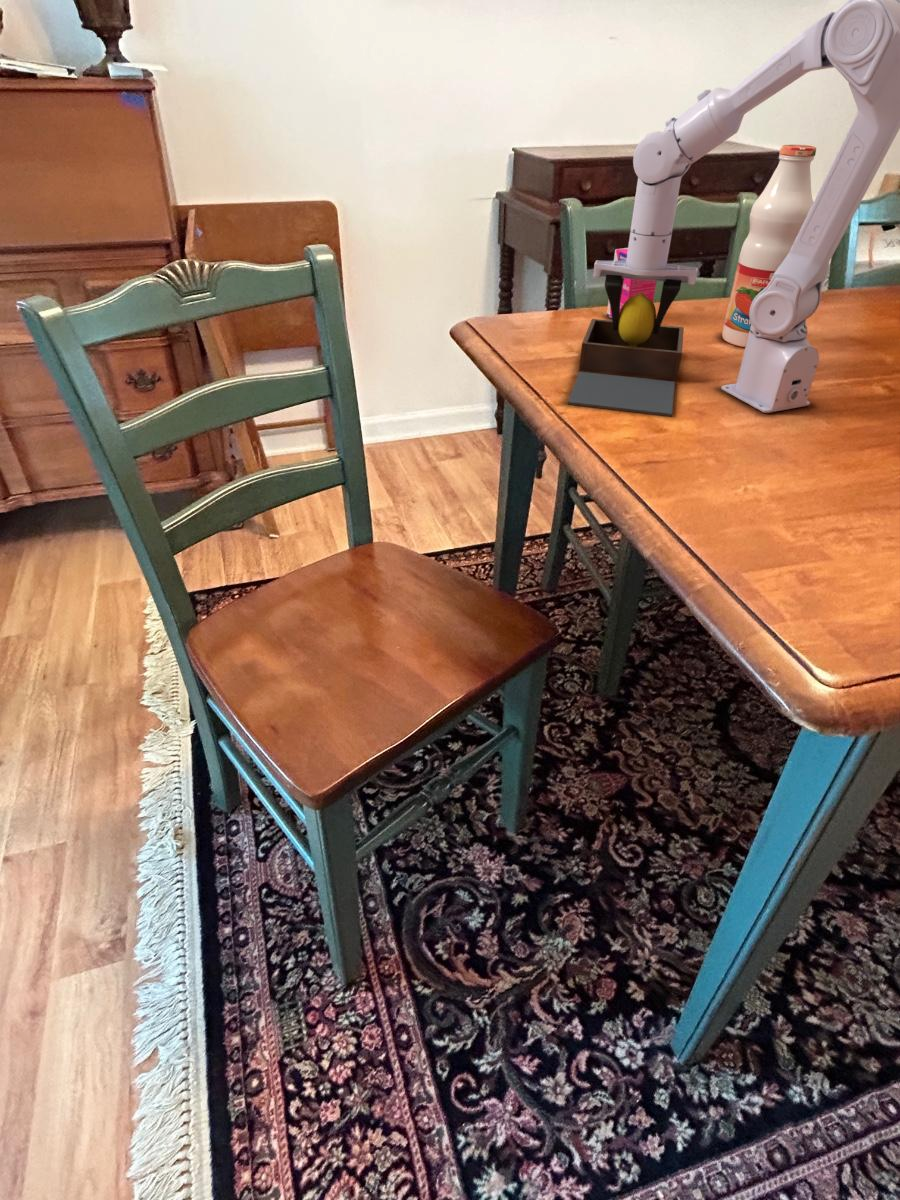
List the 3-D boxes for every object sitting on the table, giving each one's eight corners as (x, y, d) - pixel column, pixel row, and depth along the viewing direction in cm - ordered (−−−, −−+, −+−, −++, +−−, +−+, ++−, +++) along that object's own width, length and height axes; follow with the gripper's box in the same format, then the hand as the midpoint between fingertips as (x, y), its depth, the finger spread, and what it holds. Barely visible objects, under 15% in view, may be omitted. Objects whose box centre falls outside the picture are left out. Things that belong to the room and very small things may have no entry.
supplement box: (604, 316, 134) (614, 248, 127) (631, 312, 136) (642, 245, 129) (623, 326, 130) (634, 255, 123) (651, 321, 132) (663, 252, 125)
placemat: (674, 384, 109) (675, 381, 108) (671, 416, 99) (672, 413, 99) (579, 374, 111) (579, 371, 111) (567, 404, 102) (567, 401, 102)
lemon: (648, 342, 116) (657, 288, 111) (653, 354, 112) (662, 298, 107) (613, 341, 116) (620, 287, 111) (615, 352, 112) (623, 297, 107)
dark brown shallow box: (678, 354, 119) (684, 327, 116) (676, 382, 109) (682, 353, 107) (588, 345, 122) (591, 318, 119) (578, 371, 112) (581, 343, 110)
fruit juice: (772, 332, 128) (824, 143, 111) (785, 351, 120) (842, 151, 103) (716, 330, 129) (759, 141, 112) (725, 348, 121) (772, 149, 104)
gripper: (704, 229, 106) (685, 326, 114) (602, 223, 109) (590, 318, 117) (704, 239, 100) (684, 341, 108) (596, 233, 103) (585, 331, 111)
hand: (635, 330), depth 112 cm, fingers closed on lemon, 5 cm apart
